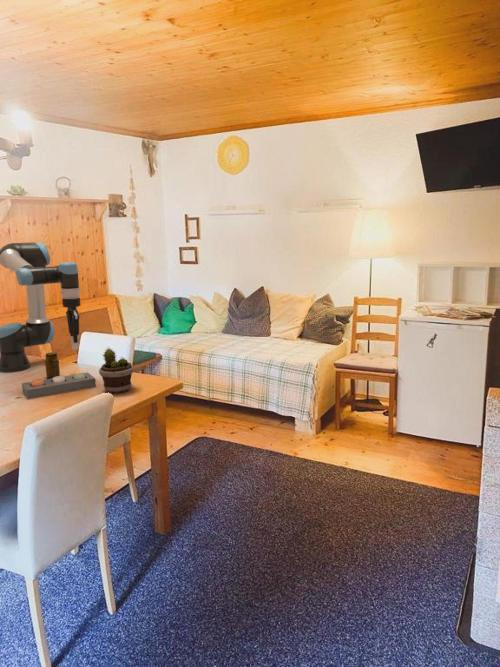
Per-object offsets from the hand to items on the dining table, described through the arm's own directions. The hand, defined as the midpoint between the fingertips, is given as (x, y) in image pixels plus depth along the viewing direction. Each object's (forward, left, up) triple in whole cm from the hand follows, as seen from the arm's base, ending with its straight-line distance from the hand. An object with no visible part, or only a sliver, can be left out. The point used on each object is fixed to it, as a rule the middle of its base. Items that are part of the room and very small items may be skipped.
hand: (75, 349), depth 223 cm
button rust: (0, -17, -15) cm, 23 cm away
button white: (0, -8, -15) cm, 17 cm away
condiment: (-21, -6, -18) cm, 28 cm away
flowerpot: (+17, +13, -18) cm, 28 cm away
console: (0, -8, -17) cm, 19 cm away
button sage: (0, +1, -16) cm, 16 cm away
